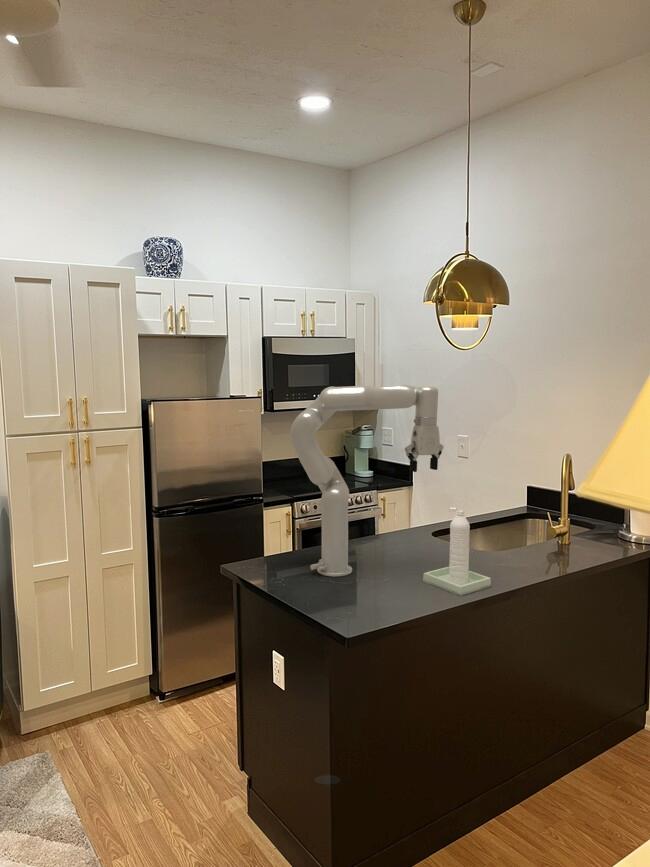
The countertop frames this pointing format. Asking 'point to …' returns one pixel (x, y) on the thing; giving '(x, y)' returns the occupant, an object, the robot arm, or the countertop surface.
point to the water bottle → (459, 548)
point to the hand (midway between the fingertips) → (423, 470)
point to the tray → (442, 581)
